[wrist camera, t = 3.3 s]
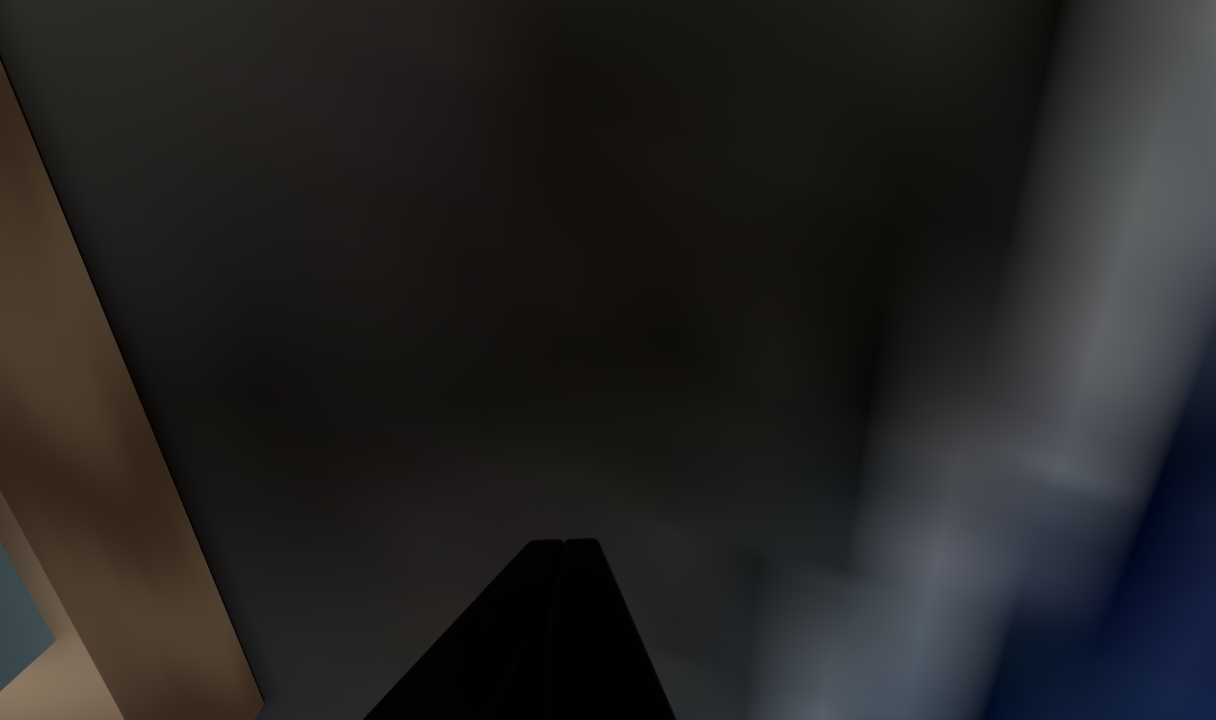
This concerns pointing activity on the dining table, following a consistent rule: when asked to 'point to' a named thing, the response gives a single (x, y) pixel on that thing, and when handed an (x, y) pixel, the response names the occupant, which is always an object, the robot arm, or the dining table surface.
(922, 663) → the dining table surface
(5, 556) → the teal block
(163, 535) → the trap deck
